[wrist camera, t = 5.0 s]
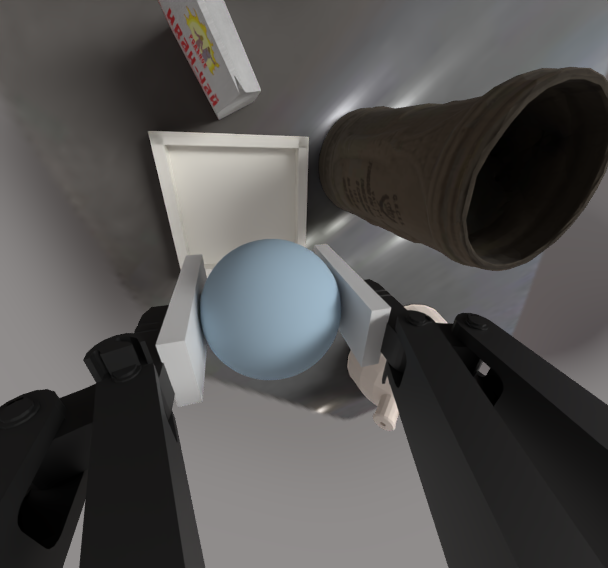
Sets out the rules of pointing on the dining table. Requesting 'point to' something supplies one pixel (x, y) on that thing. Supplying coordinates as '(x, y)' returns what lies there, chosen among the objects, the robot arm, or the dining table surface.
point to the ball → (270, 309)
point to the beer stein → (476, 166)
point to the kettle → (372, 380)
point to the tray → (231, 190)
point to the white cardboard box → (213, 52)
